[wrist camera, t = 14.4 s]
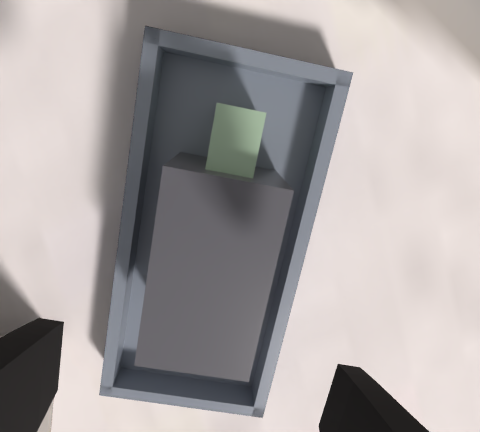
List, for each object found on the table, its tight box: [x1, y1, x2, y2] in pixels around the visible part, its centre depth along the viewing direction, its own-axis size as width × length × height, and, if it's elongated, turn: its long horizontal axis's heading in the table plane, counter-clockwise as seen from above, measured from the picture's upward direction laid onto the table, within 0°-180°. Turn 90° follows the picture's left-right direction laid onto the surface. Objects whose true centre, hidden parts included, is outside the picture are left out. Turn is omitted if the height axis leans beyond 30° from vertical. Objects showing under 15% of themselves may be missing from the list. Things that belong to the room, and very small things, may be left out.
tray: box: [99, 26, 353, 418], centre depth 18 cm, size 9×18×2 cm, turn 169°
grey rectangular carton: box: [134, 103, 294, 382], centre depth 16 cm, size 10×5×5 cm, turn 169°
